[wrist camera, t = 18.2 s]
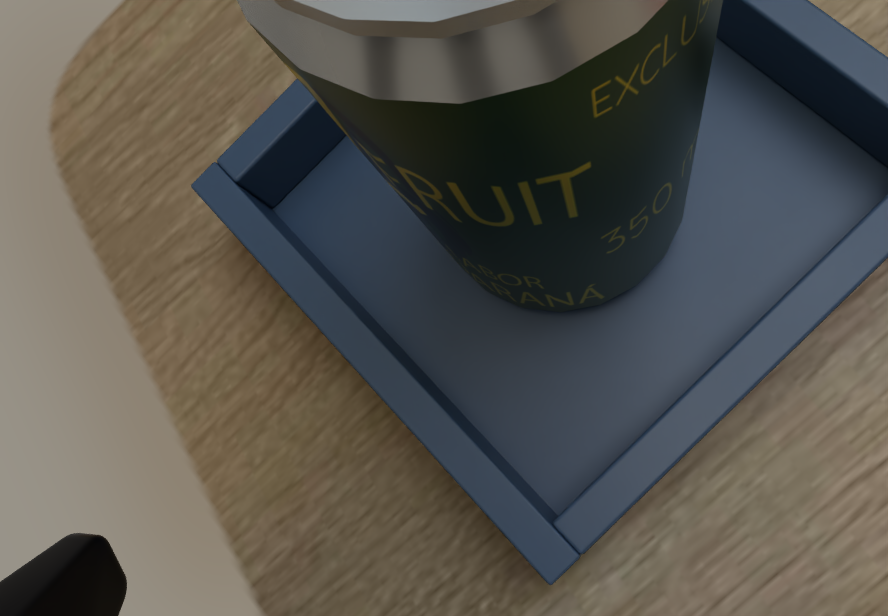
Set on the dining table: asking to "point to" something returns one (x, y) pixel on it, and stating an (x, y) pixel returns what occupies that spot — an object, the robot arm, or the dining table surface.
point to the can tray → (597, 327)
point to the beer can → (517, 125)
